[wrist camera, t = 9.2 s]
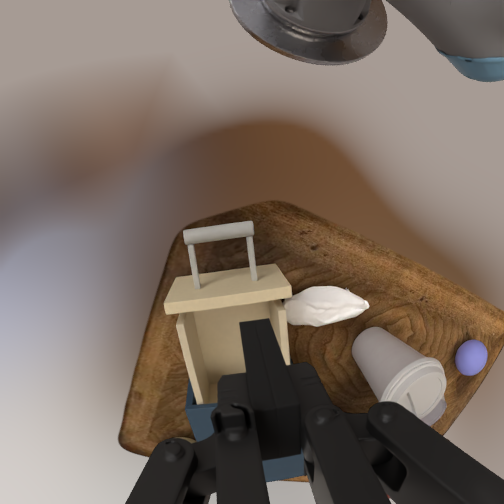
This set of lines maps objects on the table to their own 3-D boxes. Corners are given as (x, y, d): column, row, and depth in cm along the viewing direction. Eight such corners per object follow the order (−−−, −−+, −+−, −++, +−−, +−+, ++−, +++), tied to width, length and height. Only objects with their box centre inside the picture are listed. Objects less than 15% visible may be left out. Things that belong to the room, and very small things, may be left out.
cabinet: (191, 361, 40) (185, 409, 30) (286, 347, 41) (305, 392, 31) (214, 441, 44) (215, 488, 34) (292, 430, 45) (306, 474, 35)
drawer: (167, 227, 35) (150, 239, 27) (270, 212, 36) (285, 220, 27) (200, 384, 40) (197, 425, 32) (285, 372, 41) (299, 411, 32)
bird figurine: (339, 269, 41) (274, 292, 38) (371, 289, 35) (301, 320, 32) (339, 298, 43) (278, 323, 40) (368, 321, 37) (303, 352, 34)
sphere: (457, 333, 45) (480, 349, 38) (477, 334, 46) (498, 348, 39) (443, 365, 46) (463, 383, 39) (463, 364, 47) (483, 380, 40)
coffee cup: (341, 326, 41) (391, 383, 27) (396, 310, 42) (457, 354, 27) (342, 378, 43) (383, 439, 29) (394, 360, 44) (443, 411, 29)
